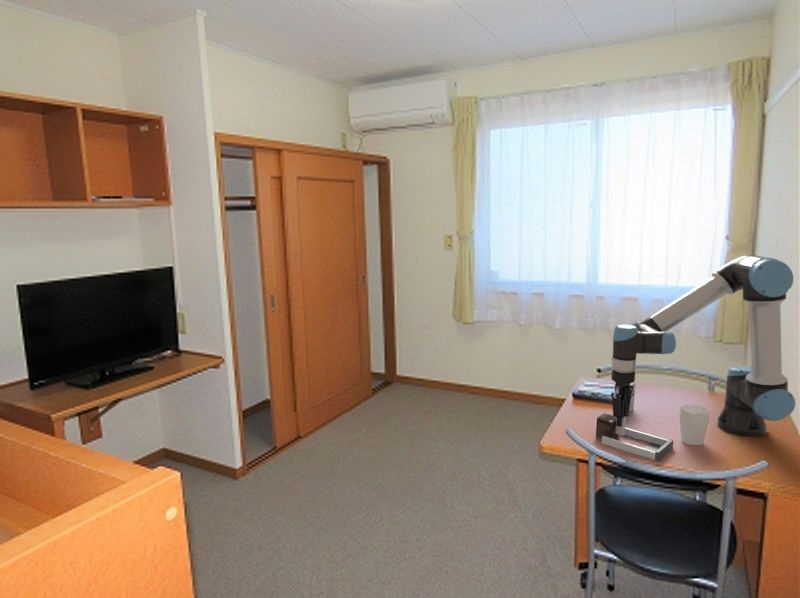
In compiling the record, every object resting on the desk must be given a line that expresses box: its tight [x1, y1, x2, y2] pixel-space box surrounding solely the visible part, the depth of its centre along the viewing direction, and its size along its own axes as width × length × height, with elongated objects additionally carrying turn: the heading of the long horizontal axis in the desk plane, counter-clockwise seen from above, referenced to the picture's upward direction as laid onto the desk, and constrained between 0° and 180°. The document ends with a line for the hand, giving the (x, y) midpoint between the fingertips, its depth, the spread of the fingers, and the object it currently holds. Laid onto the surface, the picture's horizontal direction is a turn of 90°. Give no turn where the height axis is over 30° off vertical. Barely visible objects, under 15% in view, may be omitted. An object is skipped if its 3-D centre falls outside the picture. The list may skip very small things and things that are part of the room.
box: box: [595, 413, 620, 440], centre depth 190 cm, size 6×6×7 cm
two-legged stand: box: [601, 426, 674, 461], centre depth 183 cm, size 19×13×3 cm
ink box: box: [627, 381, 636, 415], centre depth 213 cm, size 8×5×12 cm, turn 134°
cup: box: [678, 404, 710, 446], centre depth 184 cm, size 9×9×12 cm
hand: (620, 433), depth 187 cm, fingers closed
